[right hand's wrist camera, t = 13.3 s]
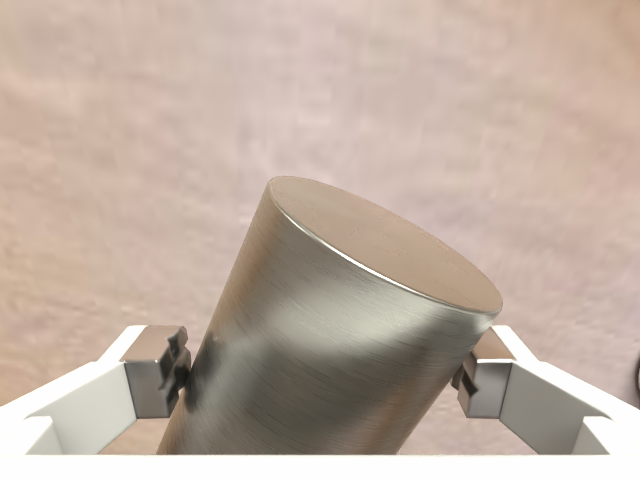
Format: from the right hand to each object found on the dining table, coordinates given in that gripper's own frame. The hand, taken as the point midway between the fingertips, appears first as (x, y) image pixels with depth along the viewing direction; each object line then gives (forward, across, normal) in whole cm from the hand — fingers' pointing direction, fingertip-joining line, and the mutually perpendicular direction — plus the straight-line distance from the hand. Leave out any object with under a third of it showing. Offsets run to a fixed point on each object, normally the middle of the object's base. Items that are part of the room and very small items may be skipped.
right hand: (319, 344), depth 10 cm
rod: (+3, -3, -7) cm, 8 cm away
